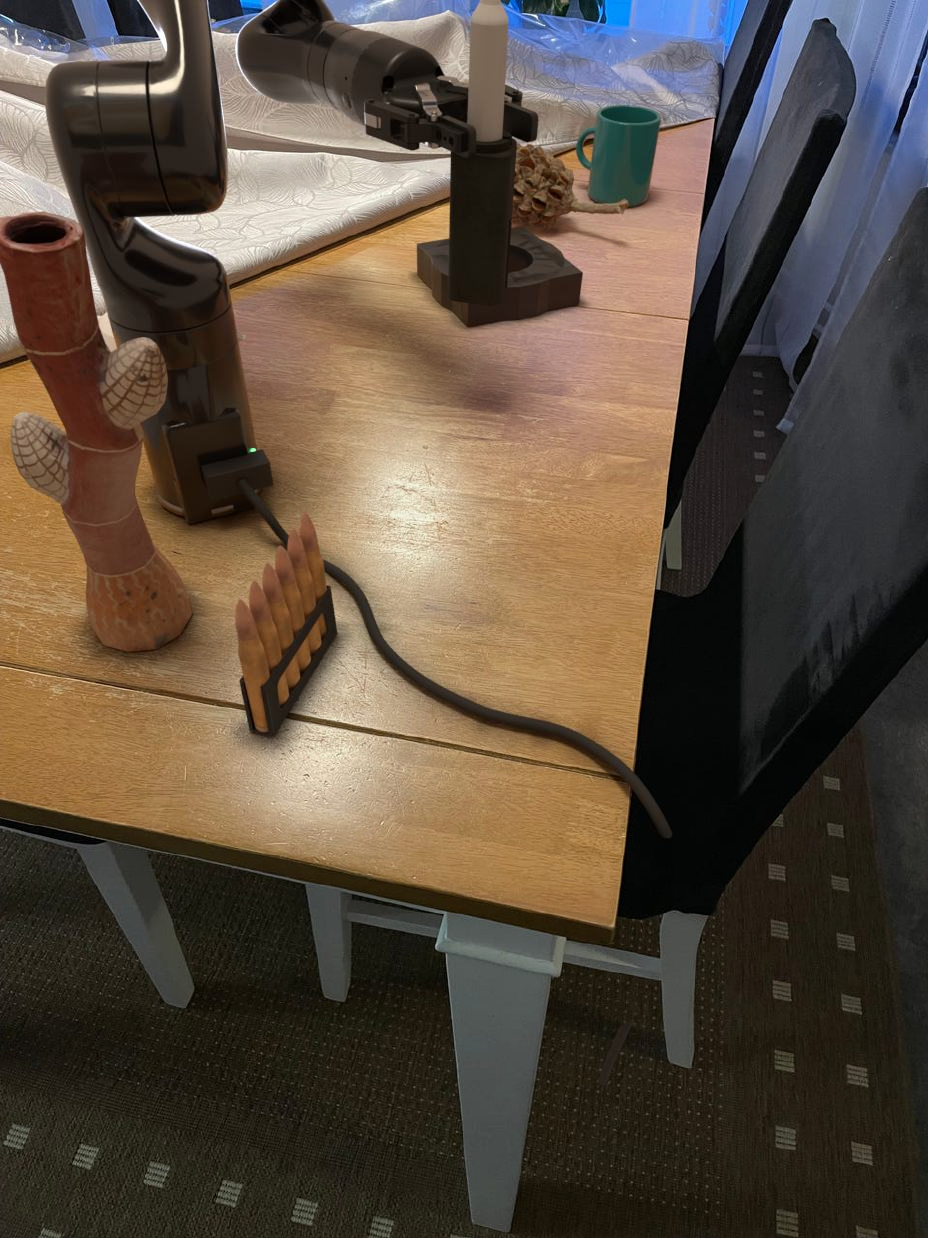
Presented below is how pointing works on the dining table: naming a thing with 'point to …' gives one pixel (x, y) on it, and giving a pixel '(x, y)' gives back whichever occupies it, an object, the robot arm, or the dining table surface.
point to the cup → (621, 153)
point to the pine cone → (548, 190)
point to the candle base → (531, 286)
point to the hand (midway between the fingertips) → (504, 135)
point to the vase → (90, 430)
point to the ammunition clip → (284, 630)
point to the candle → (483, 171)
